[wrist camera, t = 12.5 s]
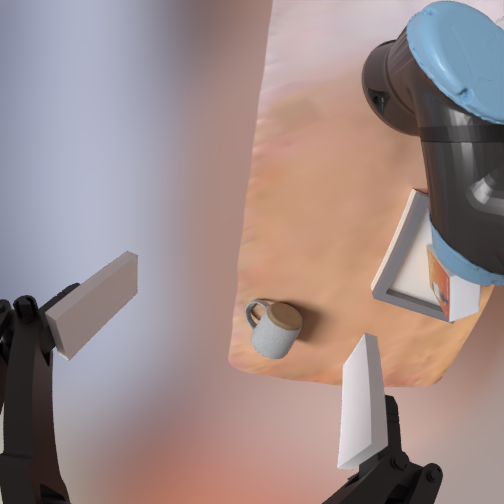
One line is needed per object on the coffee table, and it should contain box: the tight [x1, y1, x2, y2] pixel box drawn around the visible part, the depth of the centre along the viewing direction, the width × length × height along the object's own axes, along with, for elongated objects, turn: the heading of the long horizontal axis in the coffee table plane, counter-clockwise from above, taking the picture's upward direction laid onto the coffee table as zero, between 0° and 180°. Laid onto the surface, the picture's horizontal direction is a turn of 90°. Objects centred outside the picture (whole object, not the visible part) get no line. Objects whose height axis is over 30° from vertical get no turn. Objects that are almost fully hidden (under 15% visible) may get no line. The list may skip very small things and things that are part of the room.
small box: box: [426, 244, 481, 322], centre depth 33 cm, size 8×6×10 cm
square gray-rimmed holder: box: [371, 189, 454, 323], centre depth 38 cm, size 18×18×4 cm
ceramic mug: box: [245, 299, 303, 359], centre depth 48 cm, size 11×8×8 cm
